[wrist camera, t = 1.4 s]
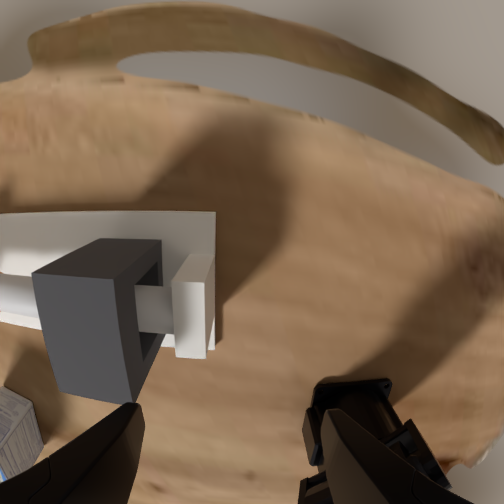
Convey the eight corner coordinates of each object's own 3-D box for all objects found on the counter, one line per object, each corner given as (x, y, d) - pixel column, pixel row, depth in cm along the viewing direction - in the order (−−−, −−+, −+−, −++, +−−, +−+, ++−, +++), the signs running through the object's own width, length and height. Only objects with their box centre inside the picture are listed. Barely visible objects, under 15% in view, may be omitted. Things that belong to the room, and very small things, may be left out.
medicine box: (2, 383, 22) (-41, 431, 13) (34, 401, 22) (-7, 456, 14) (16, 430, 24) (-16, 476, 15) (45, 446, 24) (16, 497, 16)
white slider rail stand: (216, 211, 19) (204, 226, 13) (215, 345, 21) (207, 398, 15) (-26, 214, 18) (-73, 227, 12) (-10, 315, 20) (-49, 342, 14)
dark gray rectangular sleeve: (161, 239, 17) (113, 279, 10) (166, 333, 19) (133, 406, 12) (99, 238, 17) (31, 272, 10) (109, 327, 19) (59, 391, 12)
